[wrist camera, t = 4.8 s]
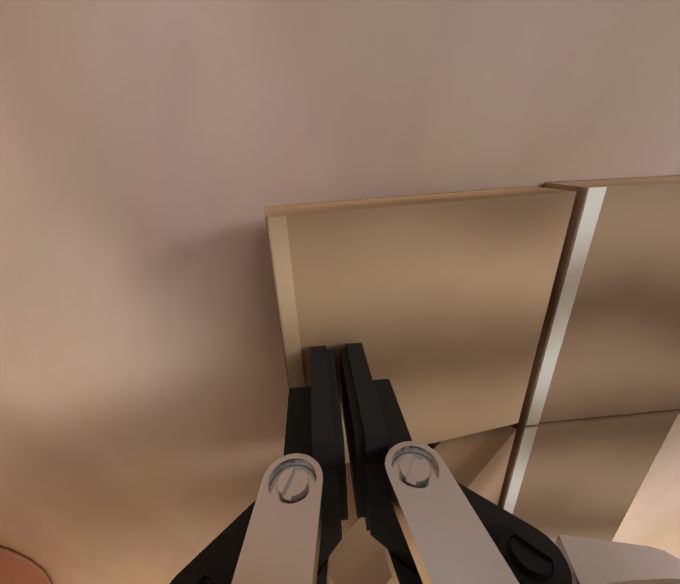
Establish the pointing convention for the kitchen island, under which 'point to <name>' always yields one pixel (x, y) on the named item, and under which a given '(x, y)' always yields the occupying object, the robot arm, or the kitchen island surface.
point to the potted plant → (20, 569)
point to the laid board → (602, 361)
